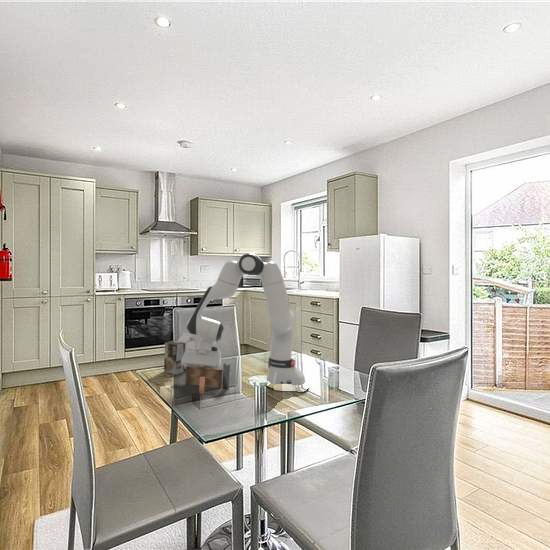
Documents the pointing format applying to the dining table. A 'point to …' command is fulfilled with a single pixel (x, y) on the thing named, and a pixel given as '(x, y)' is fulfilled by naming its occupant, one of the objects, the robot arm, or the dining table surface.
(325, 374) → the dining table surface
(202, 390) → the catch post
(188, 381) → the gate
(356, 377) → the dining table surface
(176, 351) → the coffee box
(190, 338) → the milk carton
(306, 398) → the dining table surface
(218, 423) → the dining table surface
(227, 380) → the gate post
